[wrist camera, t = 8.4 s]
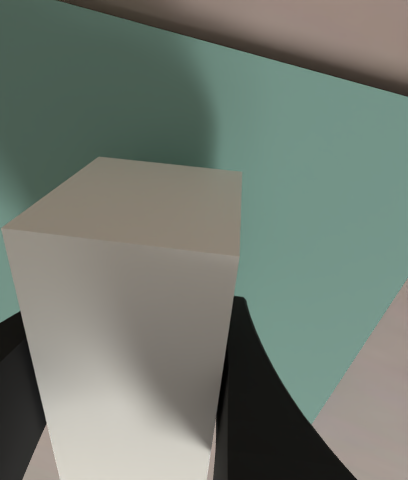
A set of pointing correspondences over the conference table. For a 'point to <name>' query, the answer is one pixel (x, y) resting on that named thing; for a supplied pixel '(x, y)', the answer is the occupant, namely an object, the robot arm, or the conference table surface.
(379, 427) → the conference table surface
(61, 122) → the mat
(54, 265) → the card box
